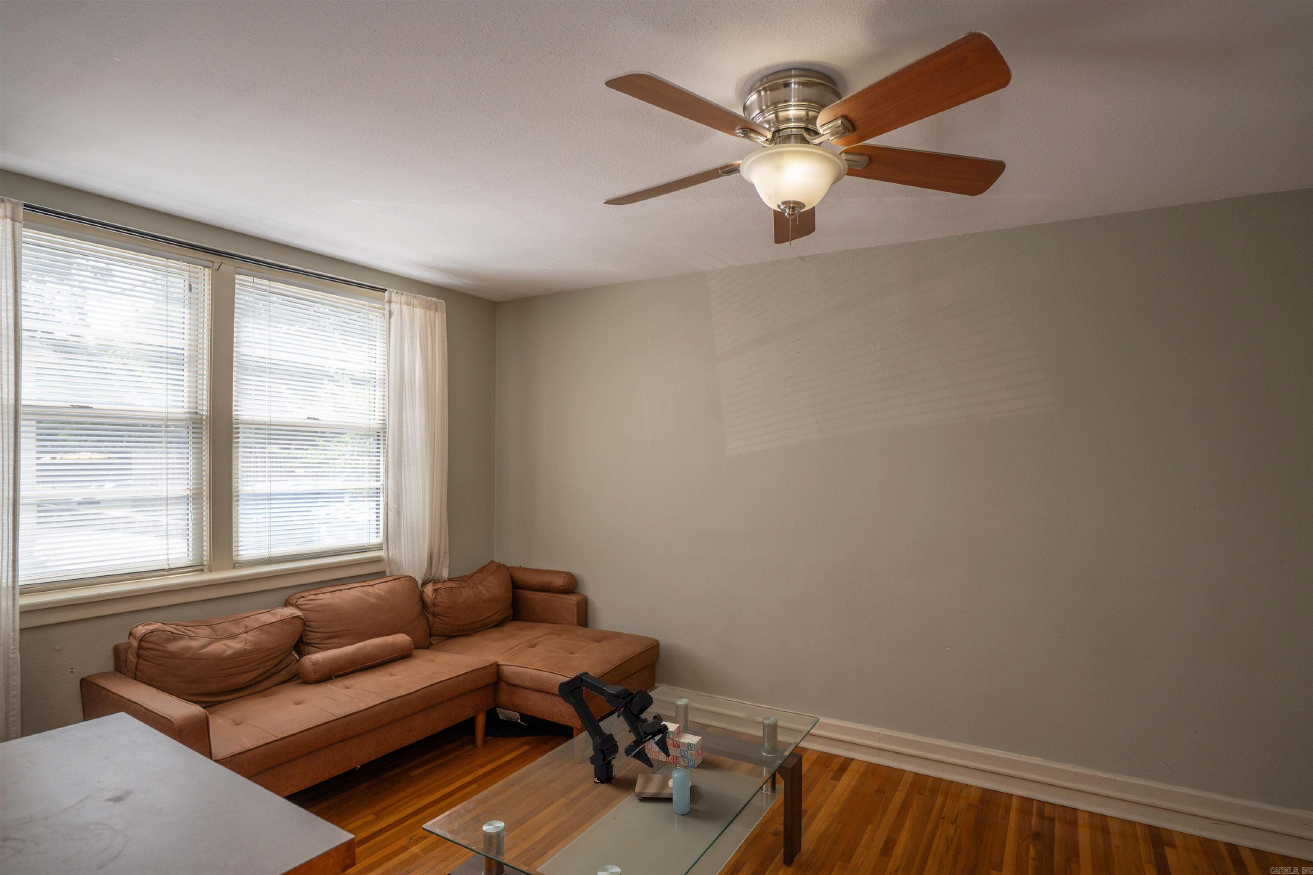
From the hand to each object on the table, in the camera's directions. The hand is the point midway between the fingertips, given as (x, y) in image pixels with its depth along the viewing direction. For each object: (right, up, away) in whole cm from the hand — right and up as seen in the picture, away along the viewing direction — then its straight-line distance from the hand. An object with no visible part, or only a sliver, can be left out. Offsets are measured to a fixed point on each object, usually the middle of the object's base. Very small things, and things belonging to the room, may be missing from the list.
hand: (661, 762), depth 234 cm
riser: (+1, -13, +7) cm, 15 cm away
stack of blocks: (+5, -13, +31) cm, 34 cm away
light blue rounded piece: (+7, -14, -5) cm, 16 cm away
